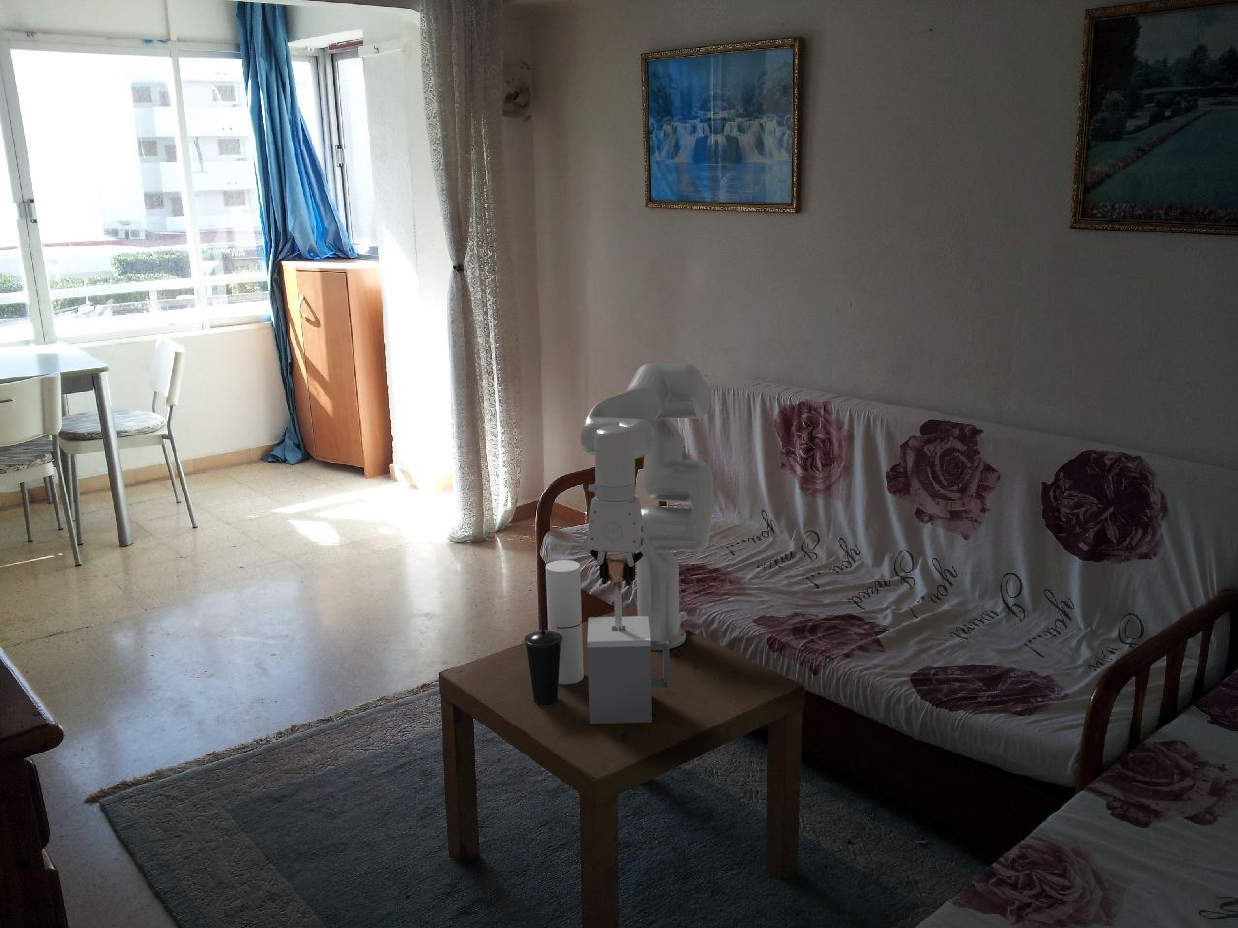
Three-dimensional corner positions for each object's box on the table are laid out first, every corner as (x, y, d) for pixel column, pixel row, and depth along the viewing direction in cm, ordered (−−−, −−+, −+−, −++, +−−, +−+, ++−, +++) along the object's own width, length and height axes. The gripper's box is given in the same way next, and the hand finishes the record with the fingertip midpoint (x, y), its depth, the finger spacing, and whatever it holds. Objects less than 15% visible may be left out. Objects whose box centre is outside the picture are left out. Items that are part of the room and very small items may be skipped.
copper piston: (596, 680, 206) (593, 567, 201) (597, 661, 215) (594, 551, 209) (643, 679, 206) (641, 566, 201) (641, 660, 215) (639, 550, 209)
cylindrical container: (579, 685, 223) (575, 572, 217) (546, 682, 225) (541, 570, 219) (587, 670, 230) (583, 560, 224) (554, 668, 231) (550, 559, 225)
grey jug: (589, 723, 207) (587, 641, 203) (590, 695, 218) (588, 617, 214) (671, 721, 207) (670, 639, 203) (668, 693, 218) (667, 615, 214)
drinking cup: (538, 712, 212) (533, 618, 207) (520, 697, 218) (516, 606, 213) (571, 702, 216) (568, 609, 211) (553, 688, 222) (549, 598, 217)
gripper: (567, 494, 200) (570, 586, 205) (654, 499, 196) (655, 592, 201) (578, 484, 207) (581, 573, 212) (663, 488, 203) (664, 579, 208)
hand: (617, 581), depth 206 cm, fingers closed on copper piston, 4 cm apart
